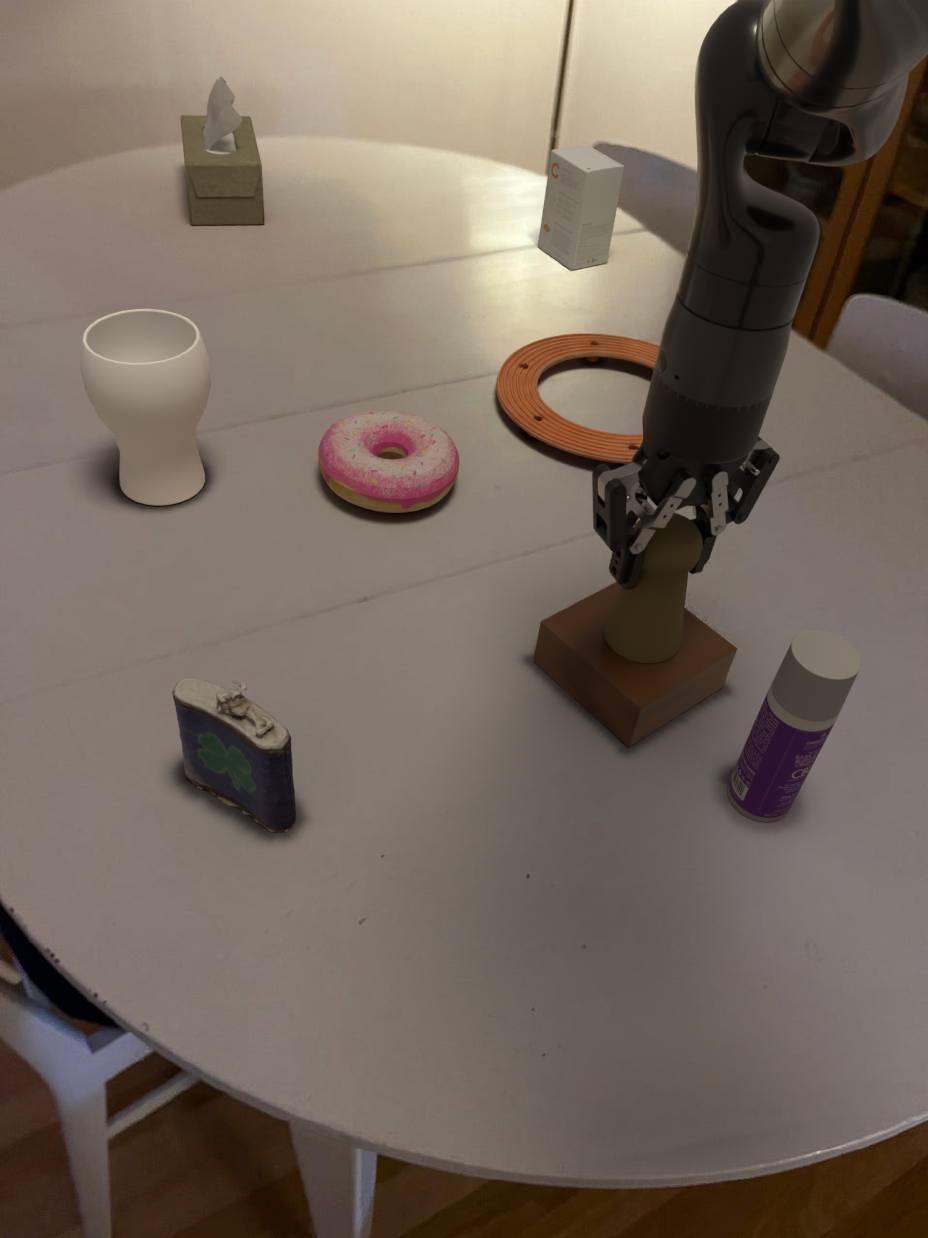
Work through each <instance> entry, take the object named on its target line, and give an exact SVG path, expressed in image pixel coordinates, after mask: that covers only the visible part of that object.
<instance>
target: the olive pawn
mask: <svg viewBox="0 0 928 1238" xmlns="http://www.w3.org/2000/svg"><path fill="white" fill-rule="evenodd" d="M640 524H641V520H640V519H638V520H637V522H636V523H635V525H634V527H633V528H634V529H635V530H636V531H637V529H638V527H639V526H640ZM702 548H703V540H702V536H701V533H700V531H699V529H698V527H697V526H696V525H695V523H694V522H692V521H691V519H690V518H689V517H687V516H685V515H683V514H680V513H677V512H674V514H673V515H672V517H671V519H670V520H669V522H668V523H667V525H666V526H665V528H664V529H662V530H659V529H658V530H656V532H655V533H654V535H653V536H652V538H651V539H650V541H649V542H648V544H647V546H646V547H645V549H644V551H645V555H644V559H643V562H642V566H641V570H640V573H639V577H638V580H637V584H636V587H635V588H634V589H630V590H624V589H623V588H622V587H620V589H619V592H618V594H617V597H616V599H615V602H614V604H613V606H612V609H611V611H610V614H609V616H608V619H607V621H606V624H605V627H604V636H605V639H606V641H607V643H608V644H609V646H610V647H611V648H612V649H613V650H614V651H615V652H616V653H617V654H619V655H621V656H623V657H625V658H627V659H628V660H632V661H636V662H639V663H658V662H663V661H666V660H668V659H669V658H671V657H673V656H674V655H675V654H676V653H677V651H678V650H679V647H680V643H681V636H682V627H683V617H684V608H686V600H687V599H686V598H687V589H688V579H689V573H690V572H689V571H691V570H692V569H693V567H694V566H695V565H696V564H697V562H698V561H699V559H700V556H701V552H702Z"/></svg>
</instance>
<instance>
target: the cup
mask: <svg viewBox="0 0 928 1238" xmlns="http://www.w3.org/2000/svg"><path fill="white" fill-rule="evenodd" d="M80 373H81V377H82V382H83V388H84V391H85V393H86V396H87V398H88V400H89V402H90V404H91V405H92V407H93V409H94V411H95V412H96V414H97V417H99V419H100V420H101V421H102V422H103V423H104V425H105V426H106V427H107V428H108V429H109V430H110V431H111V433H112V434H113V435H114V440H115V443H116V445H117V448H118V450H119V473H118V475H119V488H120V489H121V492H122V493H123V494H124V495H125V496H126V497H127V498H129V499H130V500H133V501H134V502H137V503H140V504H143V505H149V506H170V505H175V504H179V503H181V502H184V501H188V500H189V499H191V498H192V497H194V496H196V495H197V494H198V493H199V492H200V491H201V490H202V489H203V487H204V484H205V482H206V473H205V470H204V466H203V462H202V460H201V456H200V453H199V450H198V447H197V432H198V429H197V428H198V425H199V422H200V421H201V420H202V419H201V418H202V417H203V415H204V412H205V410H206V408H207V406H208V400H209V396H210V391H211V388H212V377H211V367H210V356H209V354H208V351H207V348H206V346H205V343H204V340H203V336H202V334H201V331H200V330H199V328H198V327H197V324H196V323H194V322H193V321H192V320H191V319H189V318H187V317H186V316H183V315H181V314H179V313H175V312H171V311H168V310H165V309H164V310H163V309H154V308H135V309H128V310H120V311H117V312H113V313H109V314H107V315H105V316H102V317H100V318H97V319H96V320H94V322H92V323H91V324H89V325H88V326H87V328H86V330H84V332H83V335H82V342H81V357H80Z"/></svg>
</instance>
